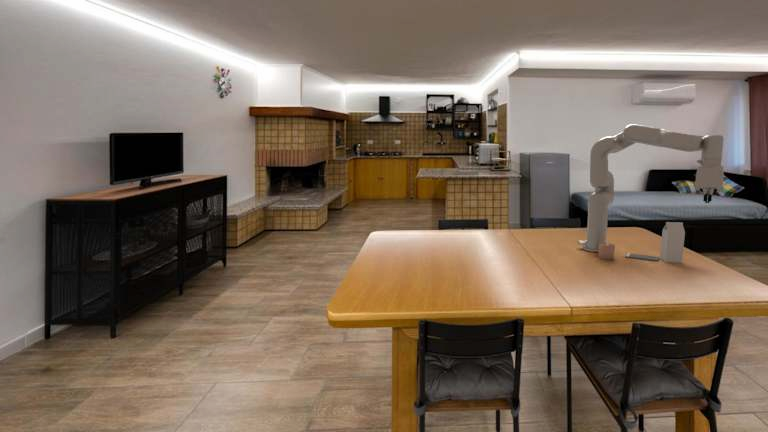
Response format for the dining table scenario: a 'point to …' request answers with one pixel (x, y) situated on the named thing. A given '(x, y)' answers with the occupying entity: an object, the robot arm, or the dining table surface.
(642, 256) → the grey flat bar
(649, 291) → the dining table surface
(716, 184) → the robot arm
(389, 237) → the dining table surface
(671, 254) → the milk carton
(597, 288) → the dining table surface
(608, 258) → the tan block
